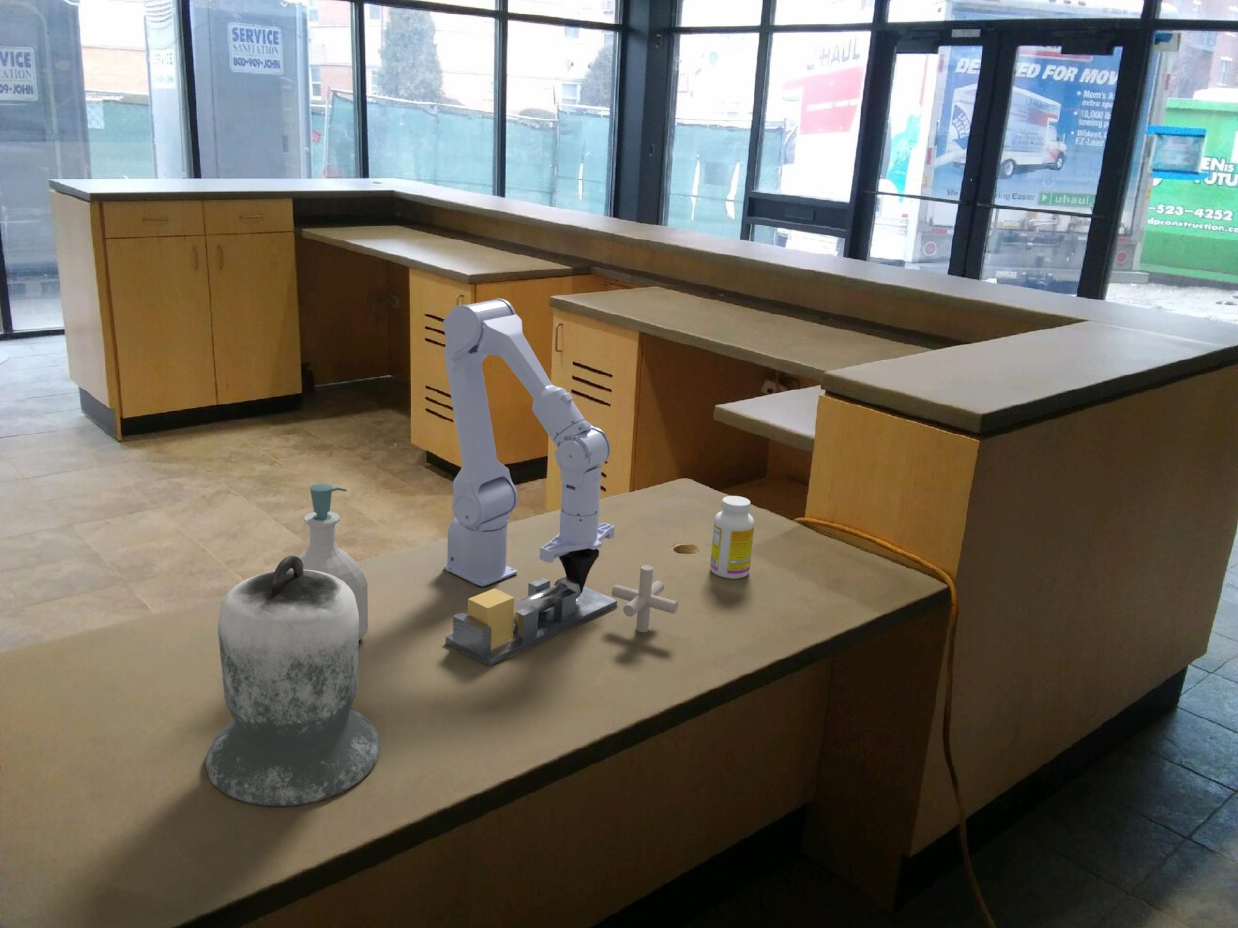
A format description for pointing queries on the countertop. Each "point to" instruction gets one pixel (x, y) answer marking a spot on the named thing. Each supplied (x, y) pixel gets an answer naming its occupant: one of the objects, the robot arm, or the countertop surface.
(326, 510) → the soap bottle
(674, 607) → the white crossed rods piece
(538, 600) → the shaft
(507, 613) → the block
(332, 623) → the bell
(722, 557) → the supplement bottle
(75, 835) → the countertop surface
